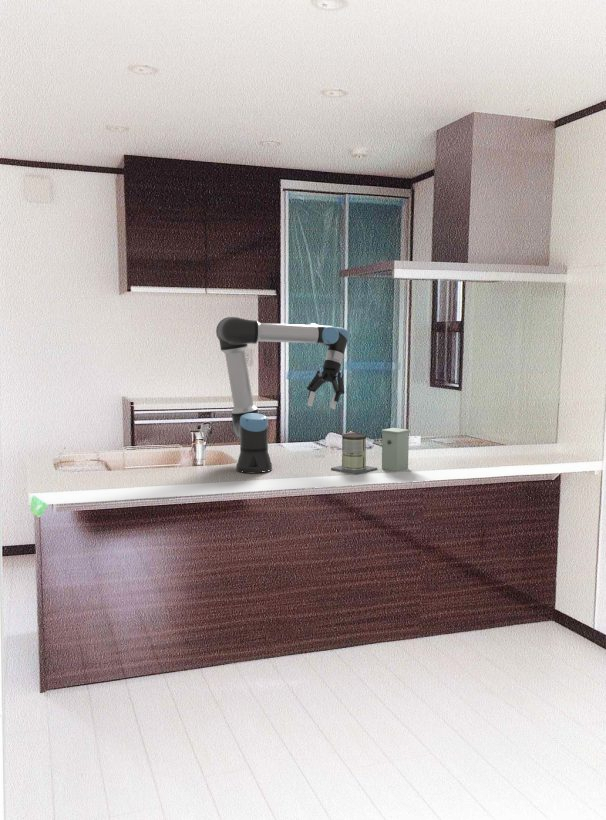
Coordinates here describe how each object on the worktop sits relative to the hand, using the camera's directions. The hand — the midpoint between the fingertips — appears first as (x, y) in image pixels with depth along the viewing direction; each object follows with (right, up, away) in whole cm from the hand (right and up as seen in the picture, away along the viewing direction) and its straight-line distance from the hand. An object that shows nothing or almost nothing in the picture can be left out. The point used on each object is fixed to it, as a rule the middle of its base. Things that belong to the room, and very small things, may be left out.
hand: (320, 407), depth 324 cm
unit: (+32, -26, -9) cm, 42 cm away
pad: (+14, -27, -12) cm, 32 cm away
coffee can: (+14, -26, -12) cm, 32 cm away
